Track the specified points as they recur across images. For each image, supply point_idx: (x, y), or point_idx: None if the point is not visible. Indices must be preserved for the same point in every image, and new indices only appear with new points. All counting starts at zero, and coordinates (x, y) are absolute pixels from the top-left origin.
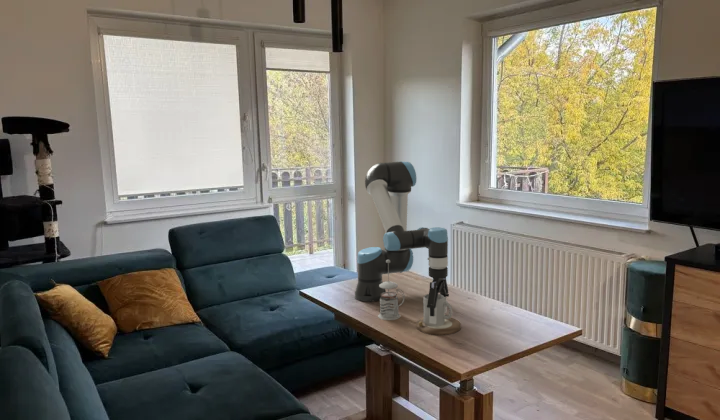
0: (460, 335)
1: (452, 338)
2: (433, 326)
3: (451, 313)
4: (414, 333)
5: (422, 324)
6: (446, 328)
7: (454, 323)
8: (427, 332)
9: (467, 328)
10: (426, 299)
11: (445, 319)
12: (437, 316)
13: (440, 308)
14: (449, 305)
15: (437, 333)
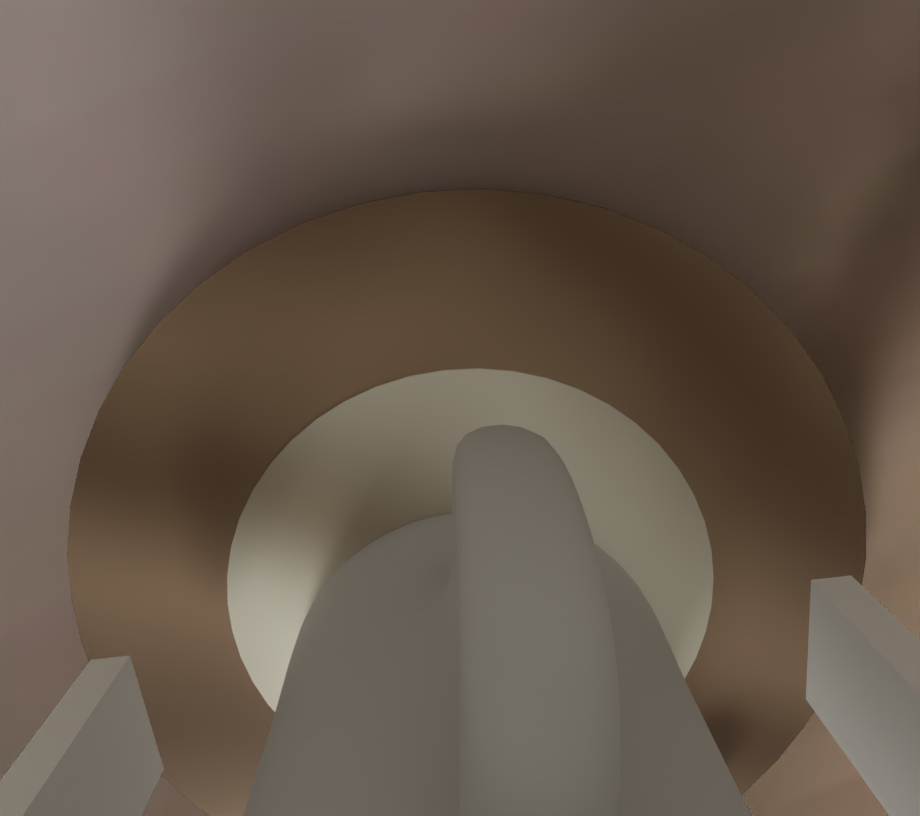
0: (690, 70)
1: (883, 154)
2: None
3: (524, 441)
4: None
5: None
6: (629, 392)
7: (315, 361)
8: None
9: (288, 81)
10: None
11: (232, 574)
12: (677, 685)
13: (675, 806)
14: (601, 648)
15: (844, 451)
